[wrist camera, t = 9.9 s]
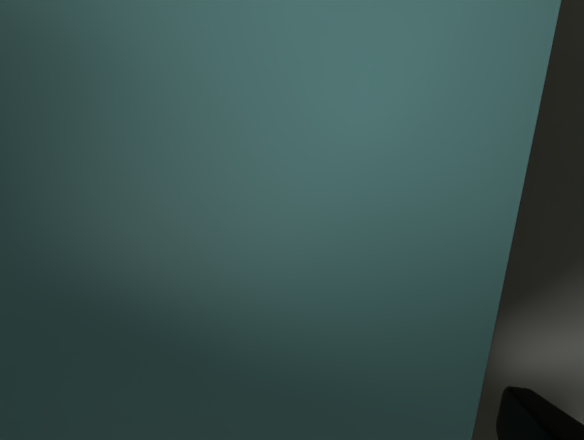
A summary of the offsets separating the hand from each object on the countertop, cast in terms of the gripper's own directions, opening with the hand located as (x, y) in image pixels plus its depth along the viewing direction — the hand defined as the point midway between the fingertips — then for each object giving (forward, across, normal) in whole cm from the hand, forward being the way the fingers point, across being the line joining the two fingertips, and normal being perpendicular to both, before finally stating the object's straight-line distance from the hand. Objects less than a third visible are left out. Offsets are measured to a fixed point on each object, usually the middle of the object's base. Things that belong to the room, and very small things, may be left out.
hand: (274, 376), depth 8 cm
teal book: (+6, 0, 0) cm, 6 cm away
